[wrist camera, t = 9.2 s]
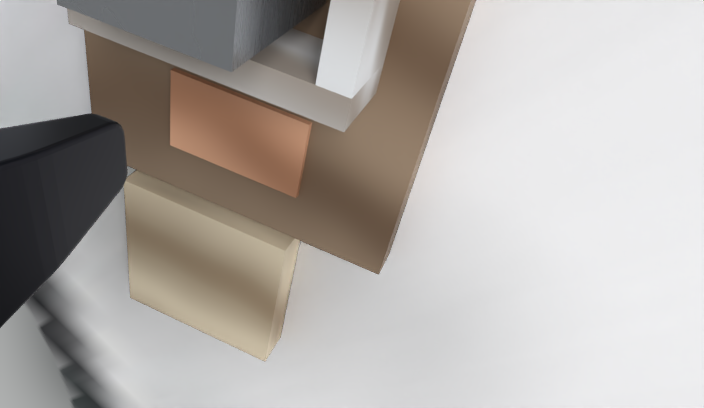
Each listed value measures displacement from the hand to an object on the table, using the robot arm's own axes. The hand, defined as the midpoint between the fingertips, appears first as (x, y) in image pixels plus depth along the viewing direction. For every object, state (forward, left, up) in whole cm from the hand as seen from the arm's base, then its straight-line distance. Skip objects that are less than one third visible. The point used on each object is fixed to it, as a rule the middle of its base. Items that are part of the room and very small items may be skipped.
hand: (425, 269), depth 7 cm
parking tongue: (-14, +9, -11) cm, 20 cm away
